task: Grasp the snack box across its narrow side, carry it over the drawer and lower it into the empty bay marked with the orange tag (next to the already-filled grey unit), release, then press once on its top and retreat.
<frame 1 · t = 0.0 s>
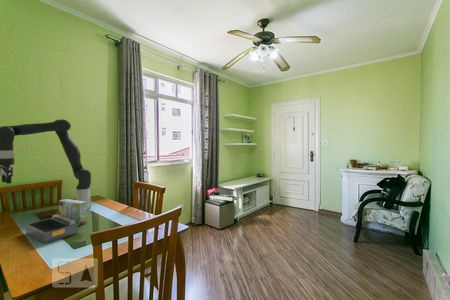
hand: (6, 182, 133), 29 cm above the table, fingers open, 8 cm apart
snack box: (72, 222, 144), on the table
drawer: (52, 233, 127), on the table
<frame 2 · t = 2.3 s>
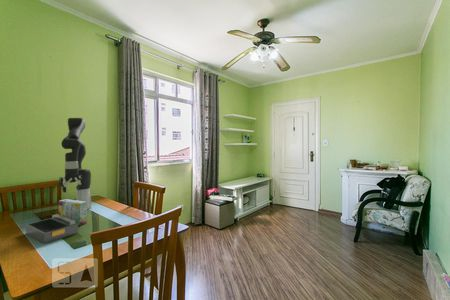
hand: (72, 191, 144), 22 cm above the table, fingers open, 8 cm apart
nothing on the table moved.
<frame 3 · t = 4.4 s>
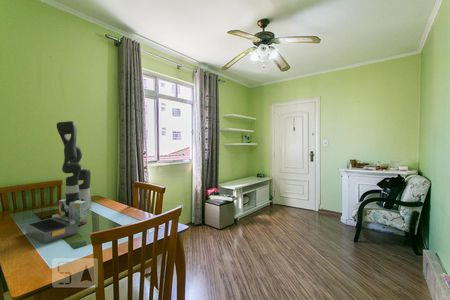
hand: (72, 215, 144), 5 cm above the table, fingers closed on snack box, 6 cm apart
snack box: (72, 222, 144), on the table, touching gripper
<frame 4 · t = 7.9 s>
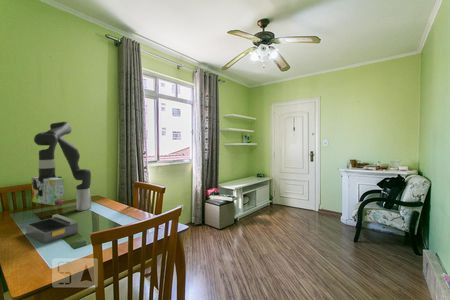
hand: (47, 195, 124), 24 cm above the table, fingers closed on snack box, 6 cm apart
snack box: (48, 203, 125), point 19 cm above the table, touching gripper
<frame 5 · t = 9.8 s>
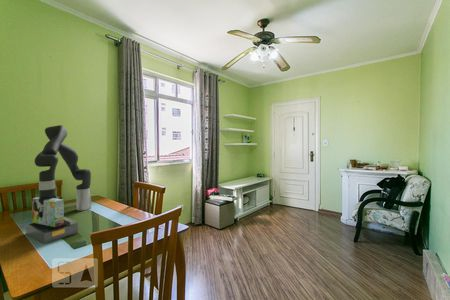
hand: (47, 215, 125), 11 cm above the table, fingers closed on snack box, 6 cm apart
snack box: (48, 223, 125), point 6 cm above the table, touching gripper
when the fingers open (7 cm above the table, at t = 11.4 s): snack box drops 2 cm, resting on drawer.
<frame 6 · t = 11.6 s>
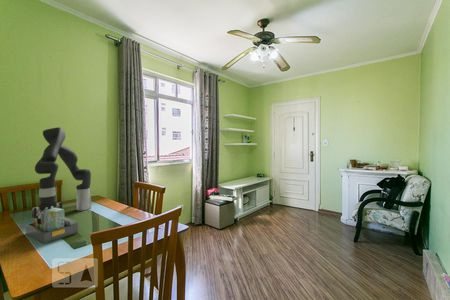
hand: (48, 222, 125), 7 cm above the table, fingers open, 8 cm apart
snack box: (49, 233, 125), resting on drawer
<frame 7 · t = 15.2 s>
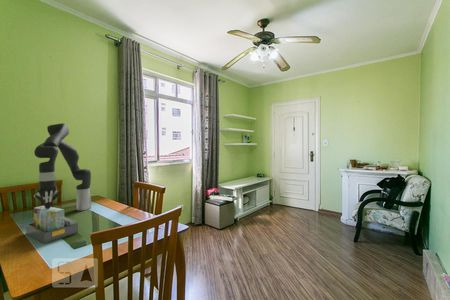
hand: (47, 208, 125), 16 cm above the table, fingers closed
nothing on the table moved.
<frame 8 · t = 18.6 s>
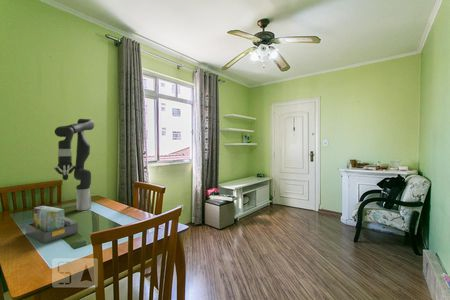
hand: (65, 180, 146), 29 cm above the table, fingers closed
nothing on the table moved.
at the end: snack box inside the target area on the drawer (0.5 cm from its centre), point 0.5 cm above the drawer's base; snack box tilted 0°; the gripper is holding nothing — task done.
